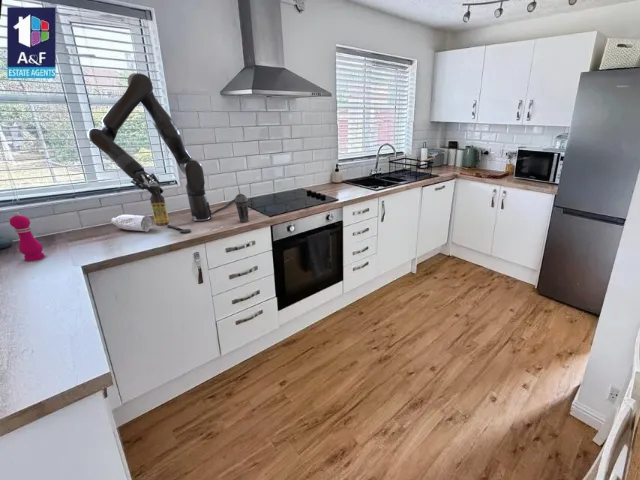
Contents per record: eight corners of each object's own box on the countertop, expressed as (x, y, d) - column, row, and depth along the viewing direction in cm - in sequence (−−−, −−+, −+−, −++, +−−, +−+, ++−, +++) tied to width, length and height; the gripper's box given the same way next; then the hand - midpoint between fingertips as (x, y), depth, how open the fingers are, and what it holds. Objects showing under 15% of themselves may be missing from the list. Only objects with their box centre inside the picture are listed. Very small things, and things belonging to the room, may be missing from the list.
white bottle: (122, 226, 197) (117, 211, 194) (154, 228, 195) (150, 214, 192) (110, 230, 190) (105, 215, 187) (143, 233, 188) (139, 218, 185)
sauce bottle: (155, 227, 182) (144, 187, 173) (156, 223, 187) (145, 184, 178) (170, 225, 185) (160, 186, 176) (170, 222, 190) (160, 183, 180)
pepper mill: (28, 263, 151) (7, 215, 142) (21, 259, 155) (0, 212, 146) (49, 257, 157) (30, 211, 148) (42, 254, 160) (23, 208, 151)
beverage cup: (253, 219, 216) (248, 185, 207) (247, 223, 209) (242, 187, 200) (241, 219, 216) (236, 184, 207) (235, 222, 210) (229, 187, 201)
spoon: (172, 225, 201) (172, 223, 200) (192, 231, 193) (192, 229, 193) (163, 228, 197) (163, 225, 197) (184, 234, 189) (183, 231, 189)
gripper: (121, 162, 167) (152, 191, 171) (144, 158, 179) (172, 185, 183) (114, 173, 170) (144, 201, 174) (137, 168, 182) (165, 195, 186)
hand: (159, 193), depth 178 cm, fingers closed on sauce bottle, 4 cm apart
